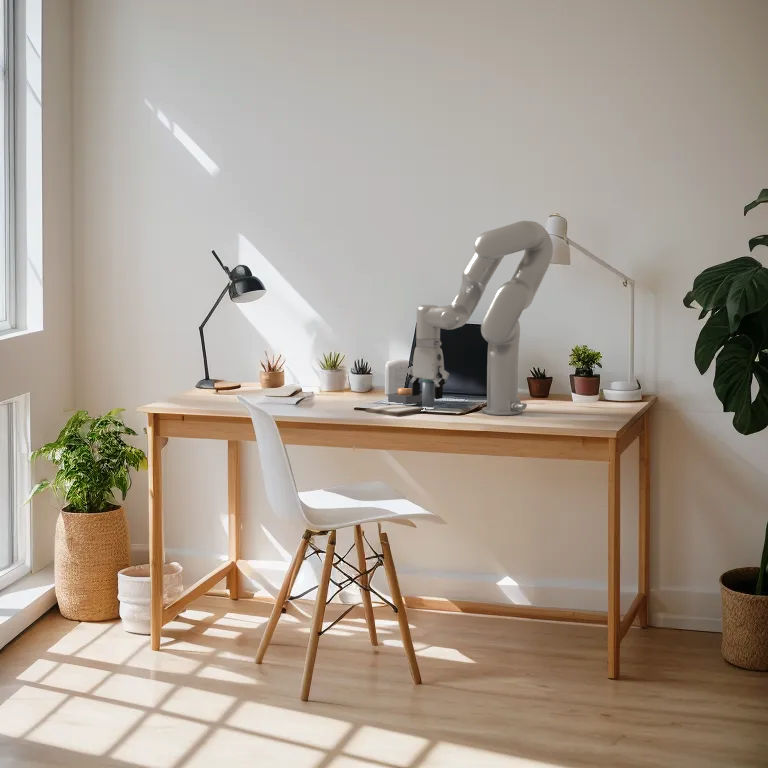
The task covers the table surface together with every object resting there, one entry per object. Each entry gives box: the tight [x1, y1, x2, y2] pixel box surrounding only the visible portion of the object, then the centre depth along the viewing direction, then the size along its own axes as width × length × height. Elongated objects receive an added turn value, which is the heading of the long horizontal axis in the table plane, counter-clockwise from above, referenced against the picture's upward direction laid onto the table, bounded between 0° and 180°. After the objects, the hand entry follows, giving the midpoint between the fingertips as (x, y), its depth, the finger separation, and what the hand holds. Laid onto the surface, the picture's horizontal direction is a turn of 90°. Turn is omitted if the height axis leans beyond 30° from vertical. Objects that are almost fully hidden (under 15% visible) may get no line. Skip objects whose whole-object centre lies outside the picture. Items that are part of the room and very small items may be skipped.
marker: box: [421, 378, 436, 407], centre depth 318 cm, size 4×4×11 cm
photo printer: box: [384, 358, 410, 396], centre depth 352 cm, size 10×4×12 cm, turn 109°
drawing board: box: [365, 404, 426, 417], centre depth 314 cm, size 14×13×1 cm
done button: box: [398, 388, 412, 396], centre depth 328 cm, size 5×5×2 cm
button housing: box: [387, 393, 422, 404], centre depth 329 cm, size 8×8×4 cm
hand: (427, 397), depth 319 cm, fingers open, 9 cm apart
